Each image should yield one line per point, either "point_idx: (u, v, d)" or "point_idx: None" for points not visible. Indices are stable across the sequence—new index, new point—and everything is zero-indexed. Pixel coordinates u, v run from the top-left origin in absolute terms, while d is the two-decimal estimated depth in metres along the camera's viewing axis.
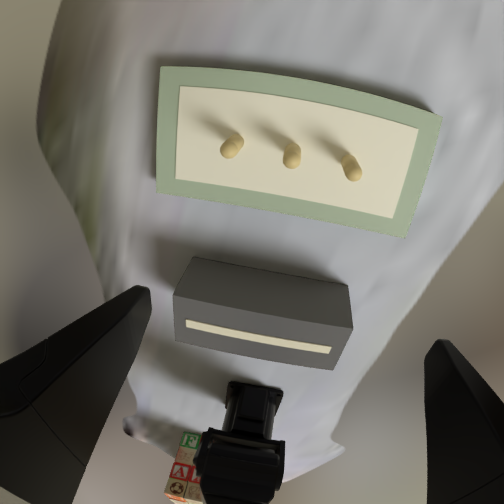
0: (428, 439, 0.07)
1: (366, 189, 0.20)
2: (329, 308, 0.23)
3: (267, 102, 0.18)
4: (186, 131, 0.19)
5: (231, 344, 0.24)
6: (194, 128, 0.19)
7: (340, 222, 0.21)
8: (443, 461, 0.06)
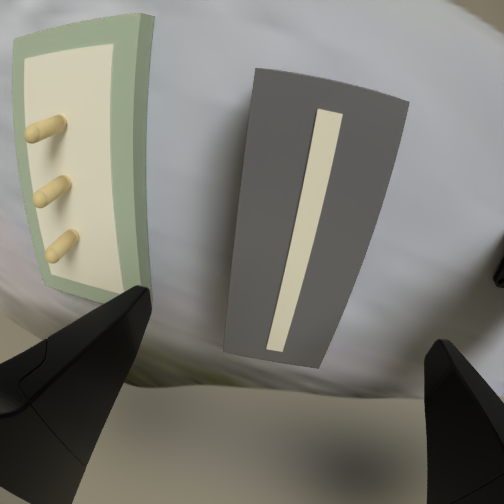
0: (428, 439, 0.07)
1: (83, 91, 0.13)
2: None
3: None
4: (81, 275, 0.20)
5: (322, 299, 0.13)
6: (76, 269, 0.19)
7: (130, 111, 0.13)
8: (443, 461, 0.06)
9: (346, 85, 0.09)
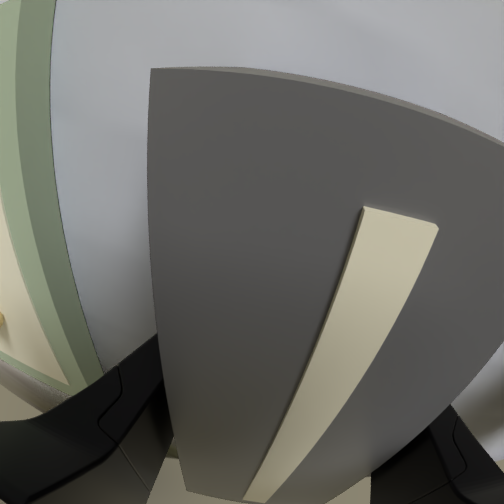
0: None
1: None
2: None
3: None
4: (21, 355, 0.13)
5: (323, 479, 0.07)
6: (13, 348, 0.13)
7: (17, 161, 0.07)
8: (384, 465, 0.06)
9: (461, 131, 0.02)
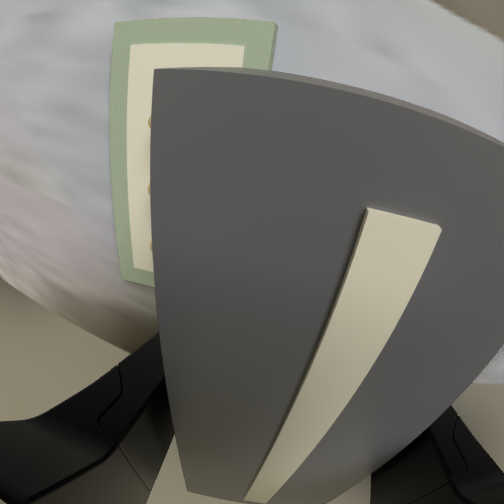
0: None
1: None
2: None
3: (134, 197, 0.19)
4: None
5: (324, 479, 0.07)
6: None
7: None
8: (384, 465, 0.06)
9: (464, 133, 0.02)
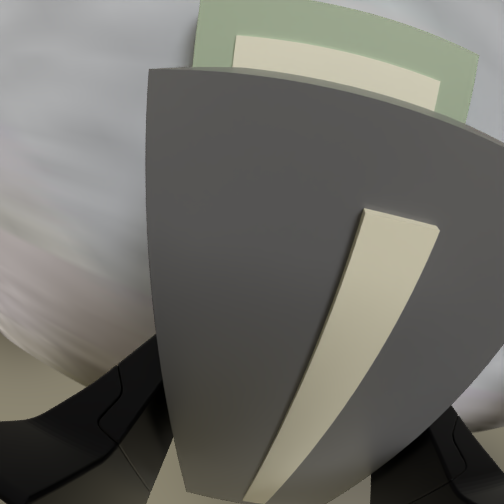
0: None
1: None
2: None
3: None
4: None
5: (323, 480, 0.07)
6: None
7: None
8: (384, 465, 0.06)
9: (462, 133, 0.02)
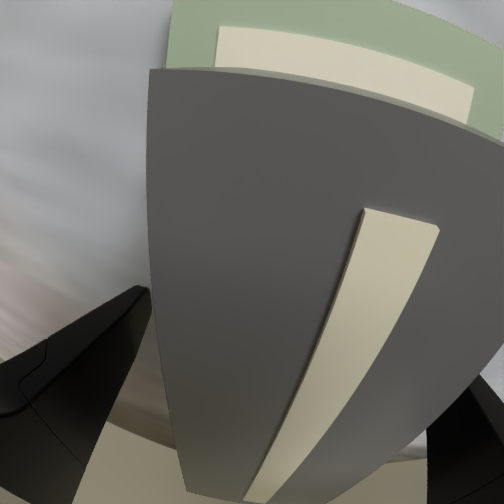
0: (428, 439, 0.07)
1: None
2: None
3: None
4: None
5: (323, 479, 0.07)
6: None
7: None
8: (443, 461, 0.06)
9: (462, 132, 0.02)
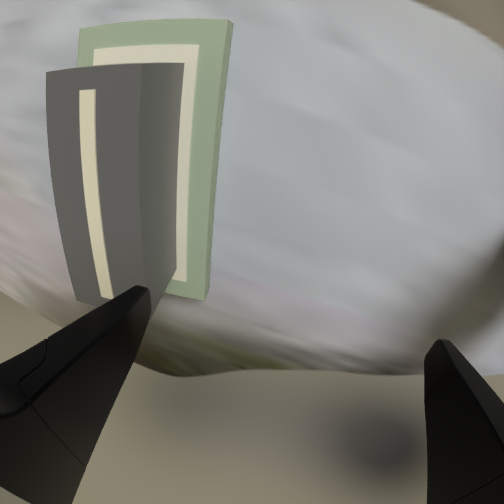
0: (428, 439, 0.07)
1: None
2: None
3: None
4: None
5: (122, 247, 0.15)
6: None
7: (214, 109, 0.15)
8: (443, 461, 0.06)
9: (96, 67, 0.10)
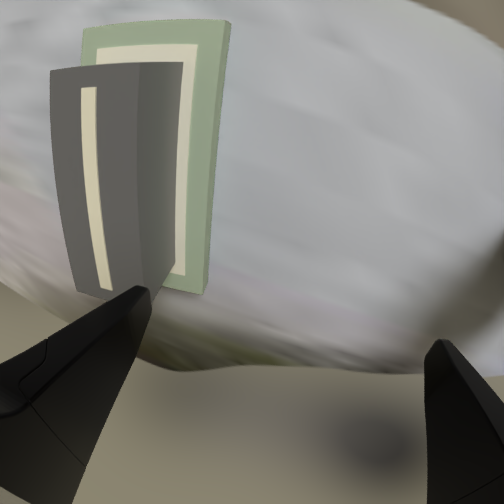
0: (428, 439, 0.07)
1: None
2: None
3: None
4: None
5: (121, 238, 0.15)
6: None
7: (212, 106, 0.16)
8: (443, 461, 0.06)
9: (97, 65, 0.11)
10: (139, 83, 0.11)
